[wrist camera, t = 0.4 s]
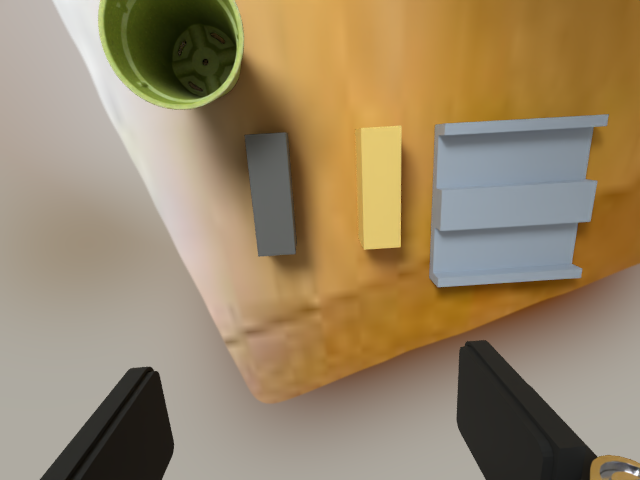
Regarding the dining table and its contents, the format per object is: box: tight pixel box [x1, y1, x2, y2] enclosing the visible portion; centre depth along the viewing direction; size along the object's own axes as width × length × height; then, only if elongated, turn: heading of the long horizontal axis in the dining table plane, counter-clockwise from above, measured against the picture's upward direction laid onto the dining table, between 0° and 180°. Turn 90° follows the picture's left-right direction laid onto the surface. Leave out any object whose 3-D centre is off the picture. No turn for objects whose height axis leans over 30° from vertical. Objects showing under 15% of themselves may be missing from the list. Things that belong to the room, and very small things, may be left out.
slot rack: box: [429, 114, 609, 287], centre depth 35 cm, size 16×15×2 cm
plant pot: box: [98, 0, 244, 110], centre depth 27 cm, size 9×9×9 cm
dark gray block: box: [245, 132, 297, 257], centre depth 33 cm, size 11×4×4 cm, turn 3°
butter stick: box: [355, 126, 401, 250], centre depth 33 cm, size 11×4×4 cm, turn 3°
